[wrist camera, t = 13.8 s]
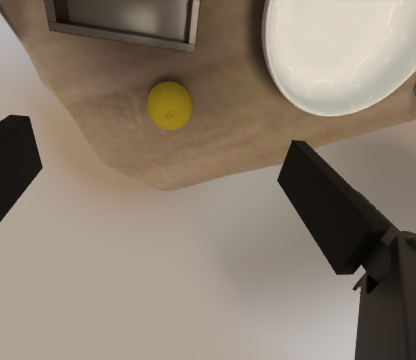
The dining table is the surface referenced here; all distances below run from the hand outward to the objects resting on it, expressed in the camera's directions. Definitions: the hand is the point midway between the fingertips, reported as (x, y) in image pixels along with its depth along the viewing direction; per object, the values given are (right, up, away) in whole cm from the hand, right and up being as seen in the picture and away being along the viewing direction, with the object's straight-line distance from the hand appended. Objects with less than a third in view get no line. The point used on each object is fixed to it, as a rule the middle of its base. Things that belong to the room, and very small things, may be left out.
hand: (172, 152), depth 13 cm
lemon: (-3, +10, +21) cm, 23 cm away
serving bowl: (+17, +19, +18) cm, 31 cm away
